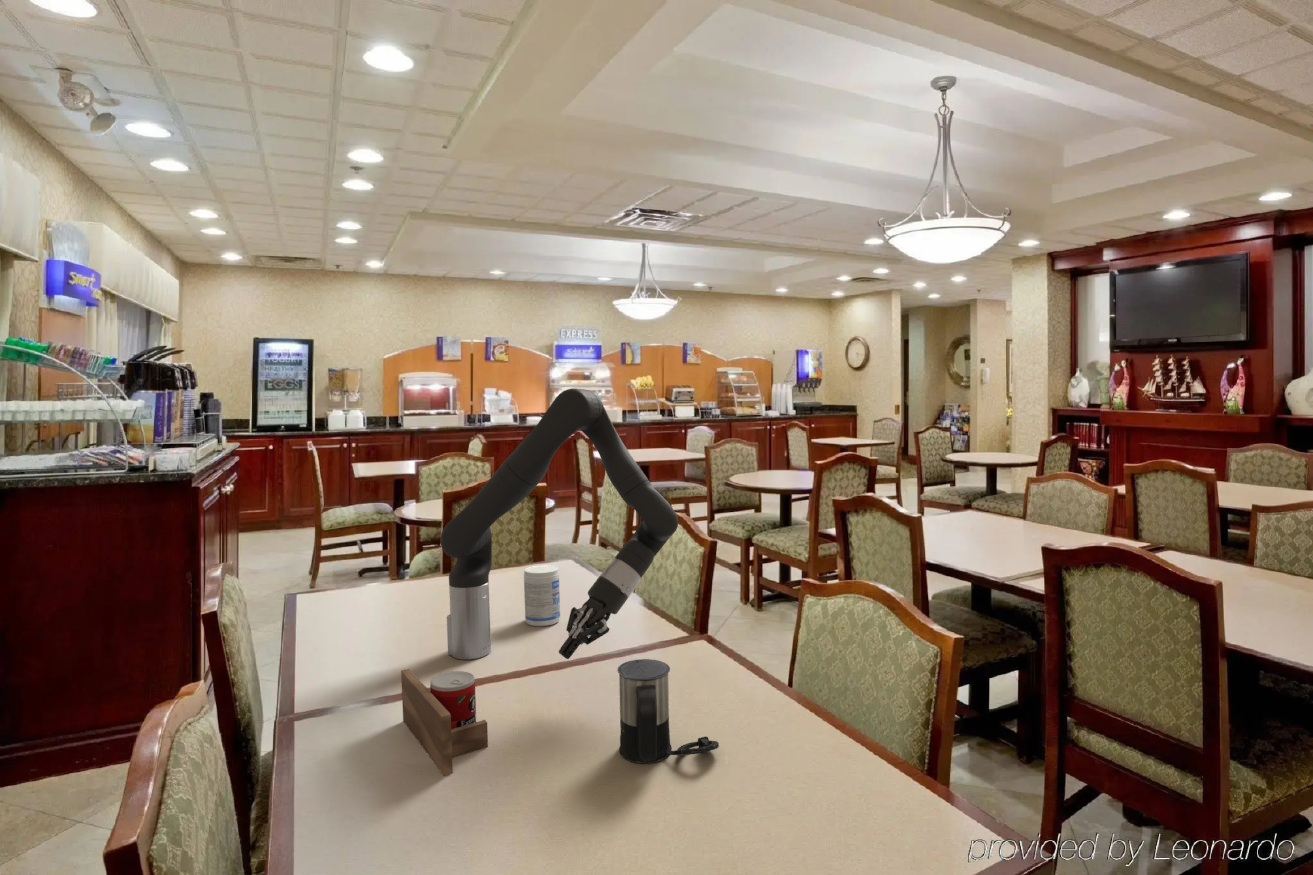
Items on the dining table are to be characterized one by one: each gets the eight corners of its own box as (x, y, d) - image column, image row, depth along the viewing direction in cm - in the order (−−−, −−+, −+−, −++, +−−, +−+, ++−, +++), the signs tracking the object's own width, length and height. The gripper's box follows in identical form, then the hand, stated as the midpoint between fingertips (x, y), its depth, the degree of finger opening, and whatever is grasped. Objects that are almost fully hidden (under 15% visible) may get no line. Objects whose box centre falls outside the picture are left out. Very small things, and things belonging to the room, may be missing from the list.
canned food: (465, 750, 125) (463, 689, 124) (423, 746, 127) (421, 686, 126) (484, 729, 133) (482, 672, 132) (444, 726, 134) (442, 669, 134)
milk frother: (611, 744, 127) (609, 662, 126) (691, 726, 133) (690, 649, 132) (640, 784, 113) (638, 694, 112) (727, 763, 120) (727, 677, 119)
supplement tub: (562, 625, 191) (560, 571, 190) (526, 629, 188) (524, 574, 187) (558, 614, 200) (557, 563, 199) (524, 617, 198) (522, 565, 197)
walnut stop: (451, 708, 142) (450, 659, 141) (498, 758, 122) (496, 701, 122) (403, 721, 136) (401, 670, 136) (443, 775, 117) (441, 716, 116)
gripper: (587, 568, 152) (536, 636, 146) (620, 582, 141) (566, 656, 135) (609, 588, 155) (560, 656, 149) (642, 603, 144) (590, 676, 138)
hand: (563, 656), depth 142 cm, fingers closed
